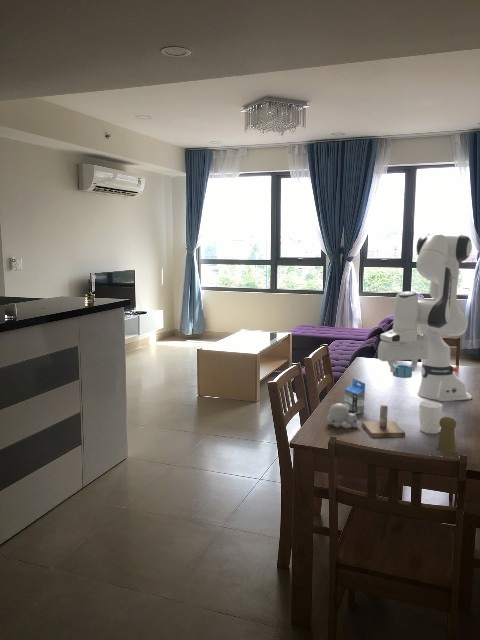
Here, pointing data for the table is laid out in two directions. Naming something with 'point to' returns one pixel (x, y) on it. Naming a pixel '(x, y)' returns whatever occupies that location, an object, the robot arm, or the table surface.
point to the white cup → (430, 416)
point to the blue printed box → (355, 397)
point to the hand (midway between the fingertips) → (402, 371)
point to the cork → (447, 436)
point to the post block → (383, 426)
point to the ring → (403, 371)
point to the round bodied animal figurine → (341, 416)
